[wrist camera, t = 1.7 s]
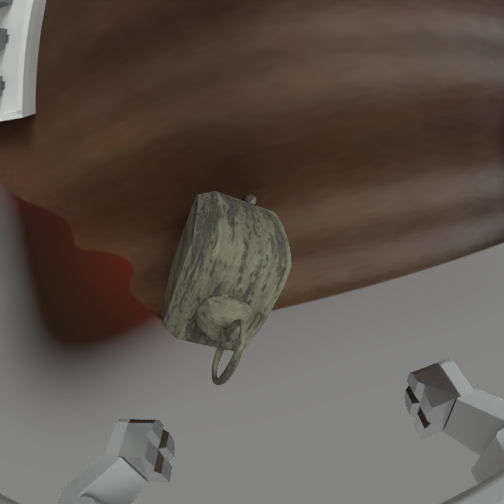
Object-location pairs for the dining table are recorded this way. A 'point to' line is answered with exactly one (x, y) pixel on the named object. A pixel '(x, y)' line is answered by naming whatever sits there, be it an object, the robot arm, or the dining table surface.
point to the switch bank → (20, 57)
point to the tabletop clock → (225, 275)
